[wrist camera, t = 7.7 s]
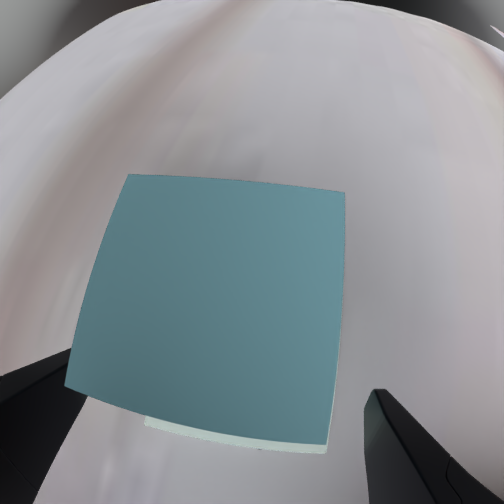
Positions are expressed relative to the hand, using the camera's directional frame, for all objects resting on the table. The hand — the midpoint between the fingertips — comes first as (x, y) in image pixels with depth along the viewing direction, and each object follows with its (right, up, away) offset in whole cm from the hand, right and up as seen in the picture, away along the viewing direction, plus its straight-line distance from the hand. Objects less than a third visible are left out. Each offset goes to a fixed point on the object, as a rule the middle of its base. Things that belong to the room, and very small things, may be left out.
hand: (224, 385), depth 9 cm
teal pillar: (+1, -2, +7) cm, 8 cm away
